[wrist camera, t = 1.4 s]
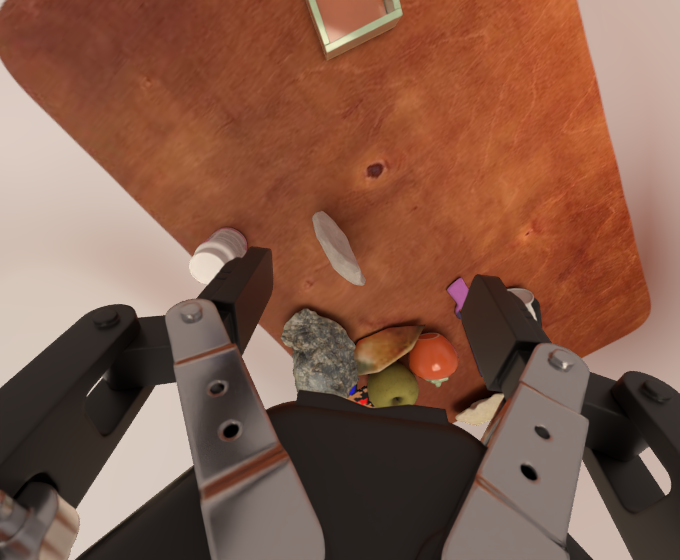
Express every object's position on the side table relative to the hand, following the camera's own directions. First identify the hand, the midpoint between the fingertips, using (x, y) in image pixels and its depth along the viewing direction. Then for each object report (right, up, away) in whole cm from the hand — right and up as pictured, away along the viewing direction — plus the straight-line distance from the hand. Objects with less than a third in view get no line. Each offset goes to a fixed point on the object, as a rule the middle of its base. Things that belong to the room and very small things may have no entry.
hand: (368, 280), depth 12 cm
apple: (+7, -15, +39) cm, 43 cm away
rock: (-9, -13, +31) cm, 34 cm away
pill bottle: (-16, +5, +28) cm, 33 cm away
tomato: (+12, -8, +34) cm, 37 cm away
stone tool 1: (-1, +7, +28) cm, 29 cm away
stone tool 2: (+34, -19, +40) cm, 56 cm away
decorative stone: (+5, -10, +33) cm, 35 cm away
